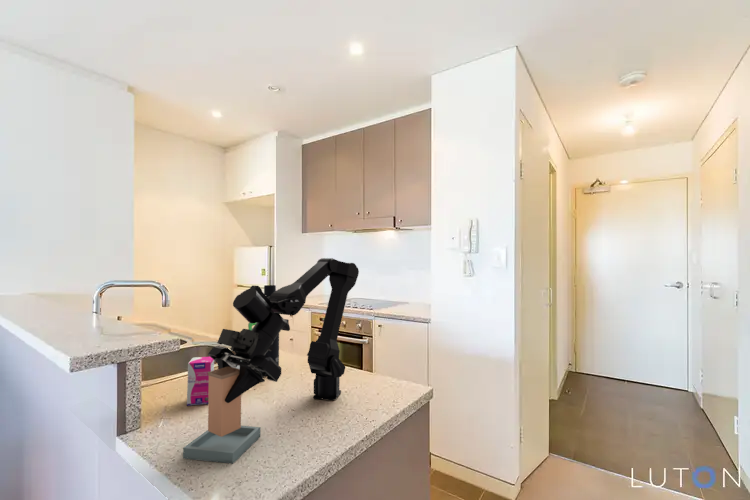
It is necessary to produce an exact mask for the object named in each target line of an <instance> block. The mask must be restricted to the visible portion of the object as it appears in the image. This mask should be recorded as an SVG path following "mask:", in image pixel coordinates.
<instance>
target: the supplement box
mask: <svg viewBox="0 0 750 500" xmlns="http://www.w3.org/2000/svg"><path fill="white" fill-rule="evenodd" d="M214 370H215V360H214V359H212V358H211V357H210V356H200V357H199V356H196V357H192V358H191V359H190V361H189V362H188V363H187V390H186V391H187V392H186V393H187V394H186V395H187V396H186V406H187V407H188V406H198V405H208V394H209V375H208V372H210V371H214Z"/></svg>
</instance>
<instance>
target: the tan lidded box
mask: <svg viewBox="0 0 750 500" xmlns="http://www.w3.org/2000/svg"><path fill="white" fill-rule="evenodd" d="M239 371H240V369H237V368H233V367H229V366H228V367H224V368H221V369H218V368H217V369H214V371H210V372H208V375H209V394H208V404H207V405H208V408H207V411H208V412H207V413H208V414H207V415H208V416H207V430H208V431H209V432H211V433H214V434H216V435H218V436H220V437H222V436H224V435H227V434H229V433H231V432H233V431H235V430H237V429H239V428H241V426H242V395H240V396H238V397H237V398H235V399H234V400H233V401H231V402H230V403H227V402H225V398H226V396H227V394H228V392H229V391H230V389H231V387H232V386H233V384H234V382H235V381H236V379H237V377H238V376H239Z"/></svg>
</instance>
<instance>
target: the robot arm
mask: <svg viewBox="0 0 750 500" xmlns="http://www.w3.org/2000/svg"><path fill="white" fill-rule="evenodd" d="M359 273H360V271H359V268H358V266H357V265H356V263H354V262H346V261H345V262H344V261H341V260H338V259H335V258H333V257H331V258H330V257H329V258H328V257H327V258H325V257H324V258H323V257H322V258H320V259H318V260H317V261H316V263H315V264H314V265H313V266H312V267H310V268H309V269H308V270H306V272H305V273H303V274H302V275H301V276H300V277H299V278H298V279H296V280H295V281H294V282H293V283H291V284H287V285H285V286H282V287H280V288H278V289H276V291H275V292H273V293H272V294H271V295H270V297H267V296H266V295H265V294H264V291H263V290H262V287H260V286H259V285H251V286H250V288H248V289H246V290H244V291H242V292H241V293H239V294H237V295H236V296H235V298H234V300H233V302H232V306H233V308H234V309H235V310H236V311H238V312H237V313H239V314H240V315H241V316H242V317H243V319H245V320H246V321H247V322H248V324H249V323H256V324H255V325H253V326H252V330H249V329H248V328H242V330H241V332H240V331H238V330H232V329H227V328H222V329H221V332H220V334H219V337H218V340H217V342H216V344H218V345H217V346H216V345H215V346H212V348H211V349H210V350H209V352H208V353H207V355H208V357H211V358H212V359H214V362H216V363H217V369H221V368H224V367H228V366H229V367H233V368H236V367H237V365H239V366H240V371H239V376H238V377H237V379H236V381H235V382H234V384H233V386H232V387H231V389H230V391H229V392H228V394H227V396H226V398H225V402H227V403H230V402H231V401H233V400H234V399H235V398H237V397H238V396H240V395H241V394H242V395H243V394H244V393H246V392H247V391H249V390H250V389H252V388H254V387H255V386H257V385H258V384H260V383H264V382H265V378H264V377H266V379H267V380H268V381H272V382H274V383H276V382H278V380H279V379H280V377H281V375H282V367H281V365H280V364H279V365H278V364H277V363H276V362H275V361H274V360H273V359H272V358H271V357H269V356H264V355H265V354H266V352H267V351H272V350H273V349H274V347H273V346H272V343H273V342H274V340H275V339H276V337H277V335H278V334H279V335H280V332H281V331H286V332H290V331H291V326H290V322H289V321H290V320H289V319H285V318H284V317H283V316H282V315H287V316H296V315H297V314H298V313H299V312H300V311H301V309H302V308H303V307H304V305H305V304H306V300H307V297H308V296H309V294H311V292H312V291H314V290H315V289H316V288H317V287H318V286H319V285H320V284H321V283H322V282H323V281H324V280H326V278H327V277H328V276H329V277H328V278H329V279H328V281H329V285H330V287H331V291H330V296H329V299H328V302H327V303H328V304H327V307H326V310H325V311H326V312H325V315H324V319H323V323H322V328H321V330H320V335H319V337H318V338H317V339H316V340H315V341H311V342H310V344H309V348H308V349H309V350H308V352H307V354H306V356H307V363H308V365H309V369H310V373H311V374H315V378H314V379H313V397H312V398H313V399H315V400H327V401H328V400H329V401H336V400H337V399H338V397H339V395H341V393H342V390H340V378H341V377H342V376H343V375H344V374H345V371H346V365H345V364H344V363H343V362H342V361H341V359H340V347H339V344H338V336H339V334H340V333H339V331H340V328H341V324H342V320H343V315H344V310H345V307H346V304H347V303H346V302H347V298H348V294H349V293H350V292H351V290H352V289H353V288H354V287H355V285H356V283H357V281H358V277H359ZM221 345H224V346H221ZM225 346H228V347H230V349H229V348H228V347H225ZM266 373H267V374H266ZM265 374H266V375H267V376H265ZM242 395H241V396H242Z"/></svg>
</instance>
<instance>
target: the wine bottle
mask: <svg viewBox="0 0 750 500" xmlns="http://www.w3.org/2000/svg"><path fill="white" fill-rule="evenodd" d="M276 286H277V285H276V284H275V285H274V284H267V285H266V284H265V285H264V286H263V293H264V294H265V295H266V296H267V297H270V295H271V294H272V293H273V292H275V291H277V289H276V288H277V287H276ZM272 346H273V347H274V349H273V350H272V351H267V352H266V354H265V355H264V356H269V357H271V358H272V359H273V360H274V361H275V362H276V363H277V364H278V365H279V366H280V333H279V334H278V335H277V337H276V339H275V340H274V342H273V343H272ZM266 374H267V373H266ZM266 374H265V376H264V377H267V375H266Z"/></svg>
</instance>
